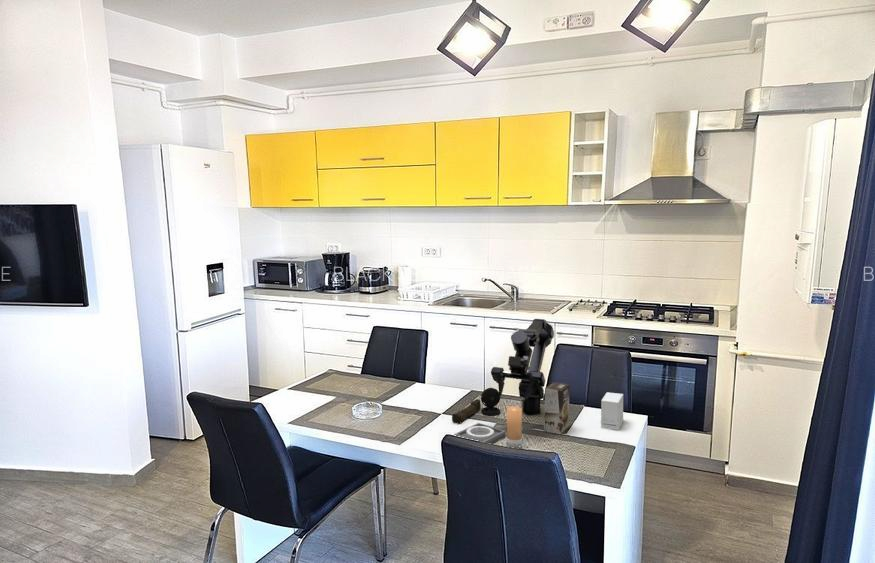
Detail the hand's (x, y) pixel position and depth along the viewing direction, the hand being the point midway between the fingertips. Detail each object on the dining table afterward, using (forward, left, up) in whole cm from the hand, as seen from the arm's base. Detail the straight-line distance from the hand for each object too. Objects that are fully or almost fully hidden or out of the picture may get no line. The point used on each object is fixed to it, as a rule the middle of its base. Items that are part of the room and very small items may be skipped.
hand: (512, 397), depth 196 cm
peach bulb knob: (+1, +8, -14) cm, 16 cm away
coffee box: (-18, -4, -14) cm, 23 cm away
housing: (+11, 0, -14) cm, 18 cm away
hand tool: (+12, -22, -15) cm, 29 cm away
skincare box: (-39, -6, -14) cm, 42 cm away
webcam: (+2, -24, -14) cm, 28 cm away
